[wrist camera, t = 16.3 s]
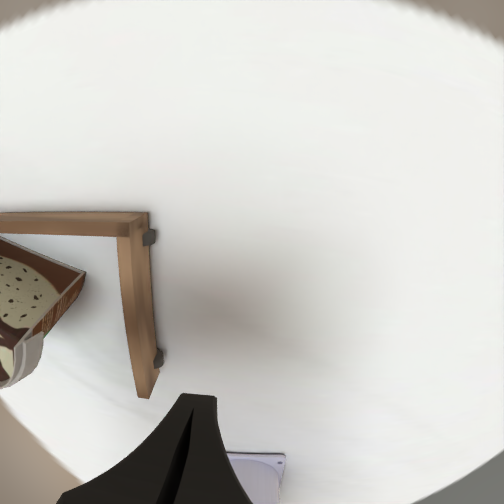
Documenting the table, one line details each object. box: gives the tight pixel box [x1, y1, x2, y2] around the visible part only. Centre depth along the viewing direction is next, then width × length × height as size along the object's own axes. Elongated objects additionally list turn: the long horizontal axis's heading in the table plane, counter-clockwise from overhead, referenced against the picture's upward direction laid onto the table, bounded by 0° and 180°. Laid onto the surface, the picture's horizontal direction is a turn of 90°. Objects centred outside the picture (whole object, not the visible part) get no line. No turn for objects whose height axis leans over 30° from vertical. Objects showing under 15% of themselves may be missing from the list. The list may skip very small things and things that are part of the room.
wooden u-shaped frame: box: [0, 212, 164, 399], centre depth 19 cm, size 12×21×4 cm, turn 87°
